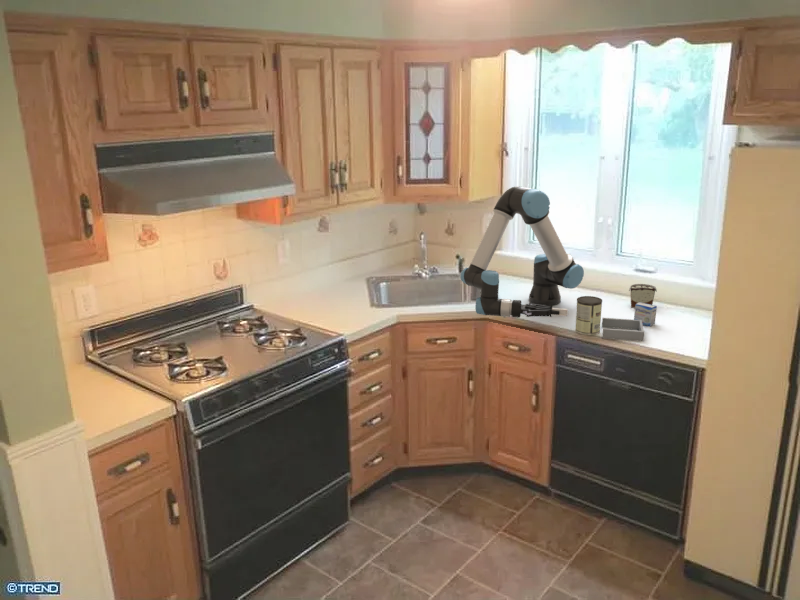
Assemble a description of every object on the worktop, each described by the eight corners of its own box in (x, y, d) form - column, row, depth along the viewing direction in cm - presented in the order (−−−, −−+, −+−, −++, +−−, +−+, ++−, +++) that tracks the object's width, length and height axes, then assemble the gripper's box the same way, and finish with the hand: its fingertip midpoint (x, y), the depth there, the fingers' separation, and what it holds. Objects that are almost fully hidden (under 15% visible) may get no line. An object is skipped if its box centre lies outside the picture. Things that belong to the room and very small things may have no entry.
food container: (651, 304, 324) (653, 283, 321) (655, 307, 318) (657, 287, 315) (625, 303, 325) (626, 283, 322) (627, 307, 319) (629, 287, 316)
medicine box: (633, 322, 299) (634, 303, 296) (638, 320, 302) (639, 301, 299) (650, 326, 293) (652, 307, 291) (655, 324, 296) (657, 305, 294)
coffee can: (578, 325, 296) (580, 294, 292) (602, 329, 291) (605, 297, 287) (571, 332, 288) (573, 301, 284) (596, 336, 283) (598, 304, 279)
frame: (602, 338, 281) (602, 329, 280) (601, 326, 295) (602, 317, 294) (643, 341, 277) (644, 332, 276) (640, 329, 291) (641, 320, 290)
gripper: (512, 312, 302) (567, 316, 296) (509, 321, 290) (566, 325, 284) (513, 295, 300) (568, 299, 294) (510, 304, 288) (567, 308, 282)
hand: (567, 312), depth 289 cm, fingers closed
